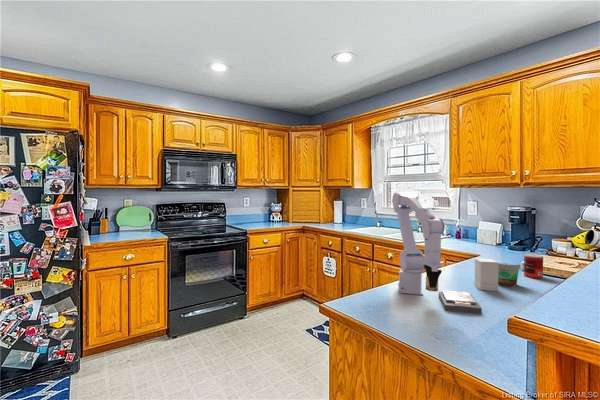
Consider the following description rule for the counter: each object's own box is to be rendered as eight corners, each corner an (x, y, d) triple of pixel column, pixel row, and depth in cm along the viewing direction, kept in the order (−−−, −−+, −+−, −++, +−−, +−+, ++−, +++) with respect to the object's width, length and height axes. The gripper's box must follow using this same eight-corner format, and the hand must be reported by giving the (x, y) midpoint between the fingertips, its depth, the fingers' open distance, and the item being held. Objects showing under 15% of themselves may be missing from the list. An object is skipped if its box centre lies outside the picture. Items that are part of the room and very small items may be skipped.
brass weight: (426, 290, 117) (426, 279, 117) (425, 287, 122) (425, 275, 121) (438, 291, 116) (439, 280, 116) (437, 288, 120) (437, 276, 120)
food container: (491, 285, 142) (492, 263, 142) (489, 281, 148) (489, 261, 147) (523, 288, 138) (524, 266, 137) (519, 284, 143) (520, 263, 143)
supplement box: (498, 291, 134) (499, 262, 134) (479, 290, 136) (480, 261, 135) (491, 285, 142) (492, 258, 141) (474, 284, 143) (474, 257, 143)
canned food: (541, 275, 157) (542, 254, 157) (543, 279, 151) (544, 257, 150) (523, 273, 161) (523, 252, 161) (524, 277, 155) (524, 255, 154)
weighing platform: (446, 300, 117) (446, 299, 117) (441, 291, 127) (441, 290, 127) (476, 303, 114) (476, 302, 114) (468, 293, 124) (468, 292, 124)
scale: (445, 310, 114) (445, 301, 114) (438, 296, 128) (438, 288, 128) (481, 313, 110) (481, 305, 110) (471, 299, 125) (471, 291, 125)
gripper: (447, 254, 110) (446, 292, 111) (440, 247, 124) (440, 280, 125) (426, 253, 112) (425, 290, 113) (422, 246, 126) (421, 279, 127)
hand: (431, 285), depth 119 cm, fingers closed on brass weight, 4 cm apart
